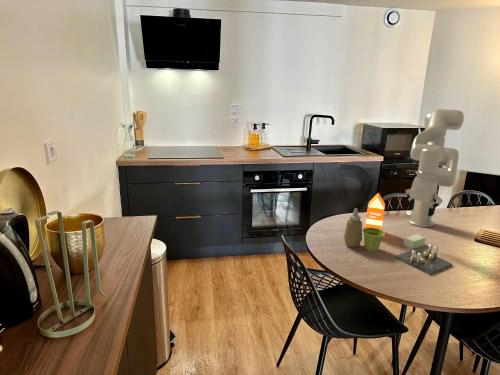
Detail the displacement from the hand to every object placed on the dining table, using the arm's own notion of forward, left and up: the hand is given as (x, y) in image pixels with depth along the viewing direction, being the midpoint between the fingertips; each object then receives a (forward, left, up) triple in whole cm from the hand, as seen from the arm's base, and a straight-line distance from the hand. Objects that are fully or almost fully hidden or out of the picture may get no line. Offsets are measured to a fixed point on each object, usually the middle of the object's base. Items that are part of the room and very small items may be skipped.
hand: (420, 212), depth 157 cm
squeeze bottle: (-14, -26, -17) cm, 34 cm away
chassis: (+12, -11, -16) cm, 23 cm away
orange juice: (-19, -6, -17) cm, 26 cm away
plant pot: (-7, -21, -17) cm, 28 cm away
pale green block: (0, 0, -17) cm, 17 cm away
